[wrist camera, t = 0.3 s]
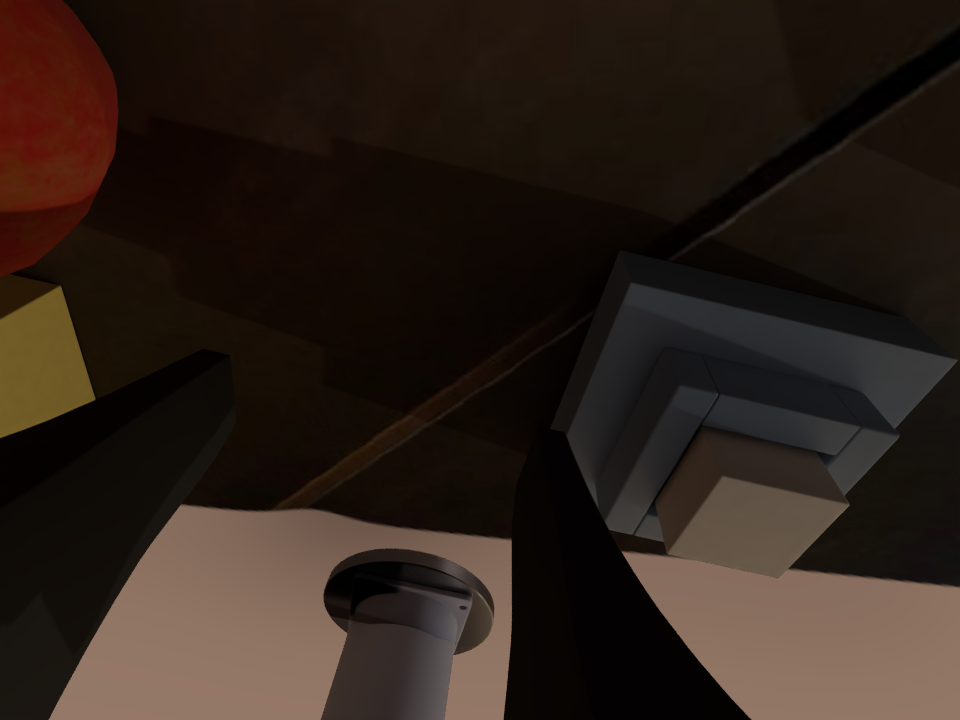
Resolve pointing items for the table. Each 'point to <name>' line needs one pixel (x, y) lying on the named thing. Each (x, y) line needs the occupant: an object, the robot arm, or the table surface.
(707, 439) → the button
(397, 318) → the table surface
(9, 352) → the button housing
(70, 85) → the apple
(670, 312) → the blue-grey square base
